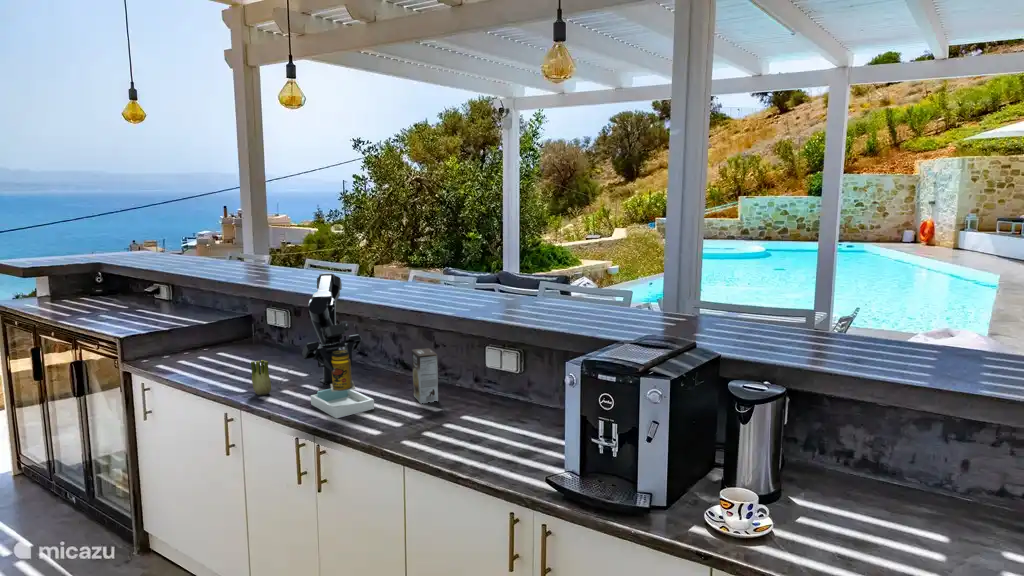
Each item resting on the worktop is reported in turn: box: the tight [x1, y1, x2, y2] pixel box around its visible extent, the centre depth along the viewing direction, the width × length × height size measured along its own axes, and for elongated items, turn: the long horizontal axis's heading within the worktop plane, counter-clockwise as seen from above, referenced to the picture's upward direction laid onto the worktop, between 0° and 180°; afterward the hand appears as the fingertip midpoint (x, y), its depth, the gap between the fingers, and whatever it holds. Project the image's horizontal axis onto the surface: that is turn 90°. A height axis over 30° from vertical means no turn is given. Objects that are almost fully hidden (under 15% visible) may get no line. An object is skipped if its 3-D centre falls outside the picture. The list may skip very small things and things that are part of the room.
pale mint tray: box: [310, 389, 375, 419], centre depth 209 cm, size 19×13×3 cm
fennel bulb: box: [250, 359, 272, 396], centre depth 222 cm, size 6×5×12 cm
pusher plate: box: [316, 388, 348, 401], centre depth 213 cm, size 1×10×4 cm, turn 131°
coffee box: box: [411, 347, 439, 405], centre depth 214 cm, size 9×6×16 cm
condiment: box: [329, 349, 356, 392], centre depth 207 cm, size 7×8×12 cm
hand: (342, 368), depth 206 cm, fingers closed on condiment, 6 cm apart
